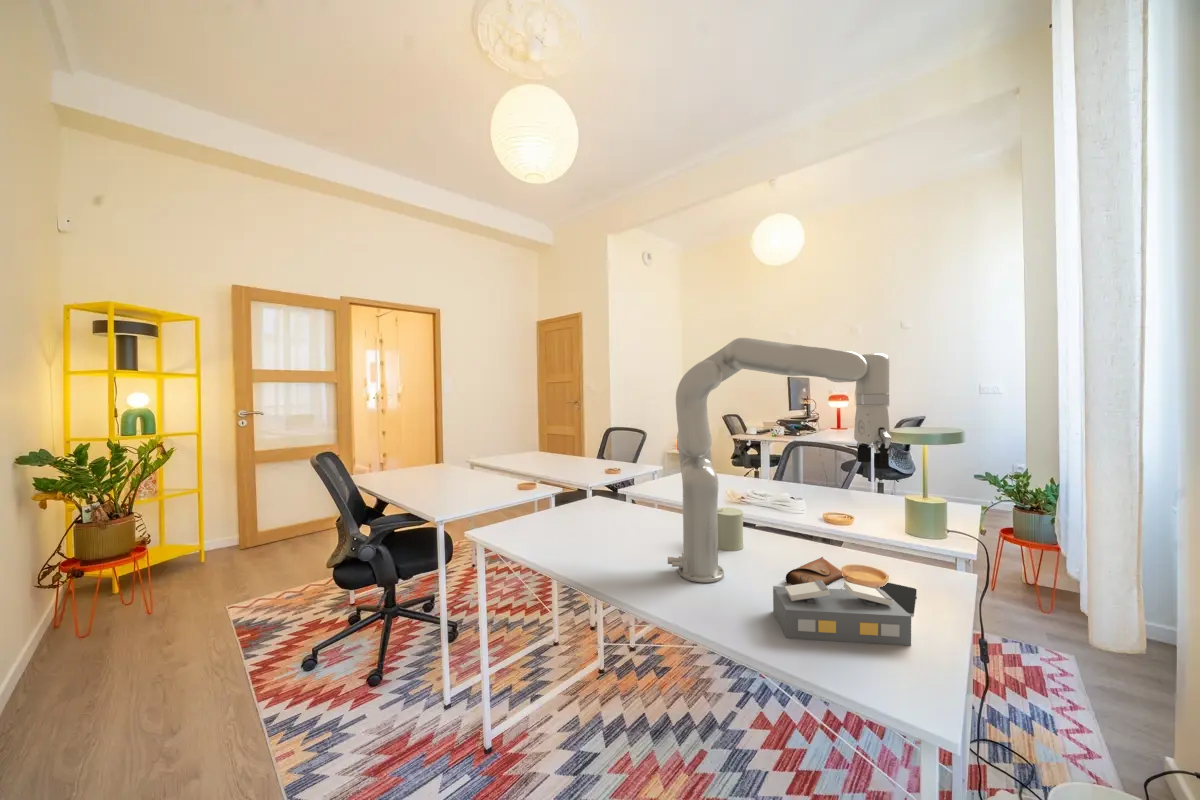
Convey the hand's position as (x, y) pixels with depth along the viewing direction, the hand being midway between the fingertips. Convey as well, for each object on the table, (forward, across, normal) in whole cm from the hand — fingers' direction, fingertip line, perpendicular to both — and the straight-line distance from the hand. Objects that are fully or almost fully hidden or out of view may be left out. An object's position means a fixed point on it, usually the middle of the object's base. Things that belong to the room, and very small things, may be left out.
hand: (872, 465), depth 117 cm
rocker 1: (+24, +25, -24) cm, 42 cm away
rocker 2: (+24, +25, -12) cm, 37 cm away
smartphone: (+32, +10, +1) cm, 33 cm away
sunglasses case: (+32, 0, -14) cm, 35 cm away
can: (+31, -23, -34) cm, 52 cm away
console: (+31, +25, -18) cm, 44 cm away
